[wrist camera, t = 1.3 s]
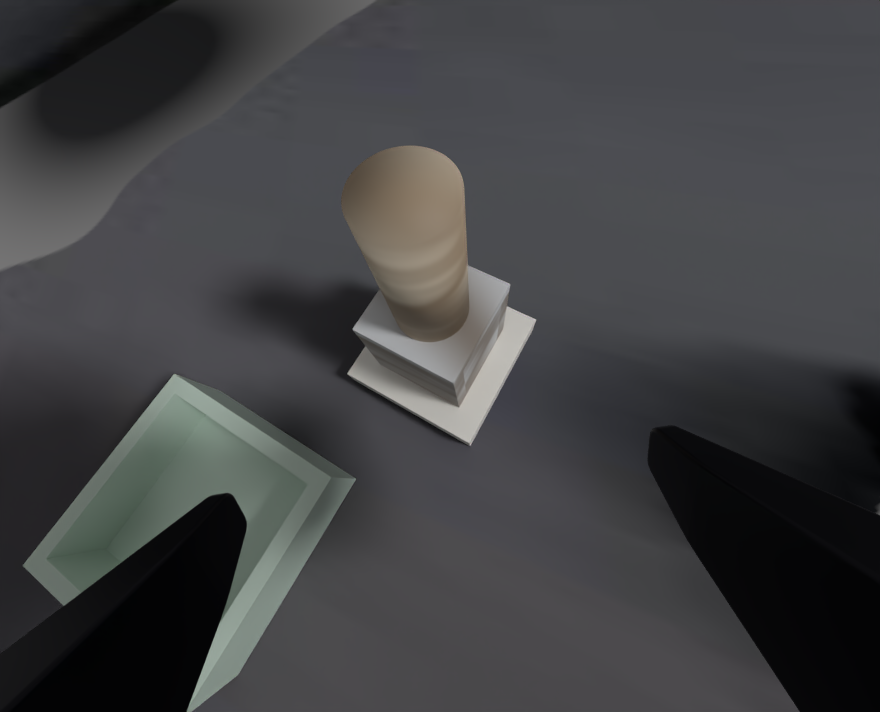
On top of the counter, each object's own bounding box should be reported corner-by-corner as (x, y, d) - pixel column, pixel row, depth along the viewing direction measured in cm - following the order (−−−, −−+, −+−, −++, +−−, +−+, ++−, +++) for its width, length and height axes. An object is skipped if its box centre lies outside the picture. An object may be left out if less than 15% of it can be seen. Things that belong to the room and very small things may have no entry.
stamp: (459, 407, 20) (436, 308, 9) (380, 364, 22) (272, 229, 10) (503, 329, 22) (531, 156, 10) (425, 292, 23) (375, 102, 11)
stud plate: (470, 446, 21) (467, 433, 16) (355, 380, 23) (320, 350, 18) (532, 330, 23) (548, 285, 18) (421, 278, 25) (407, 225, 20)
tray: (237, 675, 18) (180, 720, 15) (99, 552, 21) (22, 565, 17) (356, 478, 21) (331, 477, 17) (220, 390, 24) (174, 373, 20)
